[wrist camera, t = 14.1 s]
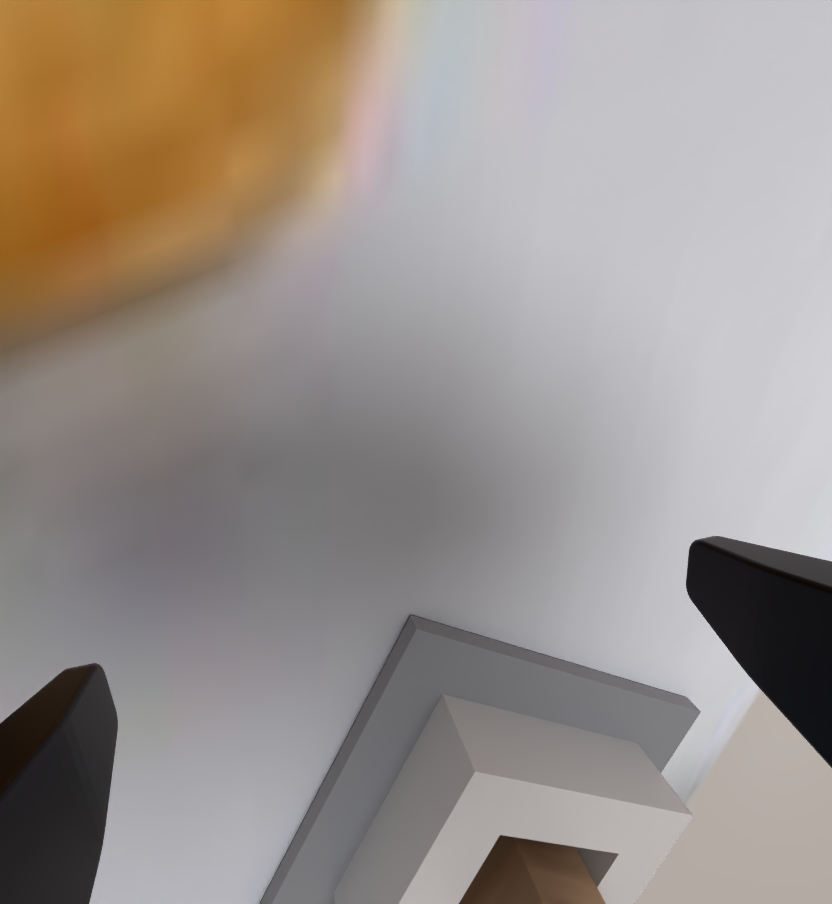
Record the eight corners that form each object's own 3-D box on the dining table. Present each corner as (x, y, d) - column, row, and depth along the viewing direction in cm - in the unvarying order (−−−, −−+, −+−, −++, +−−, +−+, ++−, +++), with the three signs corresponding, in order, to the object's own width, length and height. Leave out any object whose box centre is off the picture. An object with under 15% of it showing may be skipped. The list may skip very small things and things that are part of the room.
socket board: (257, 906, 27) (258, 1040, 23) (410, 614, 24) (446, 699, 20) (536, 932, 33) (582, 1042, 28) (687, 697, 30) (765, 778, 25)
